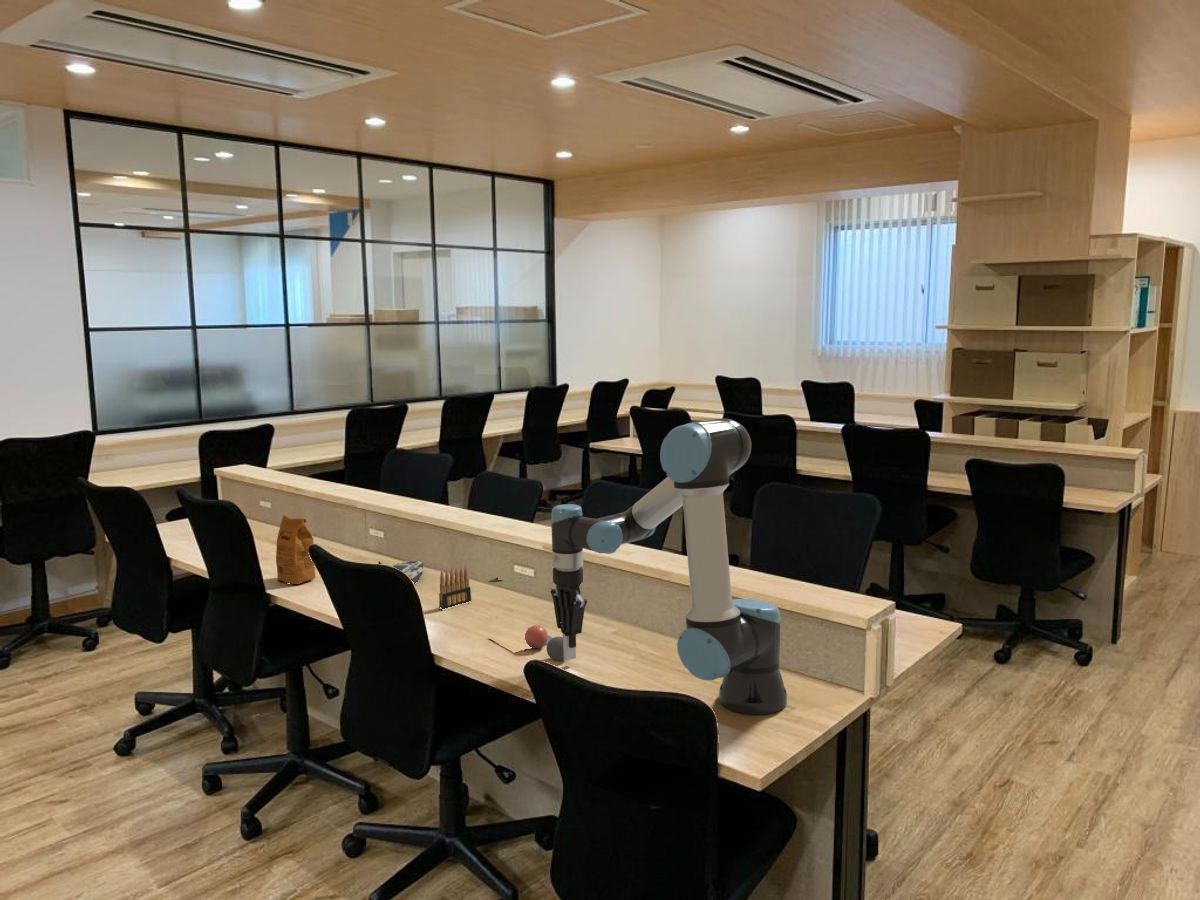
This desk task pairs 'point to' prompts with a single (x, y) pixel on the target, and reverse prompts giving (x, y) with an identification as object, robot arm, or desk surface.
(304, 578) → the coffee package
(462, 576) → the ammunition clip
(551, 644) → the gray ball
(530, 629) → the object ball
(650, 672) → the desk surface
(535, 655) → the desk surface
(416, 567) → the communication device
